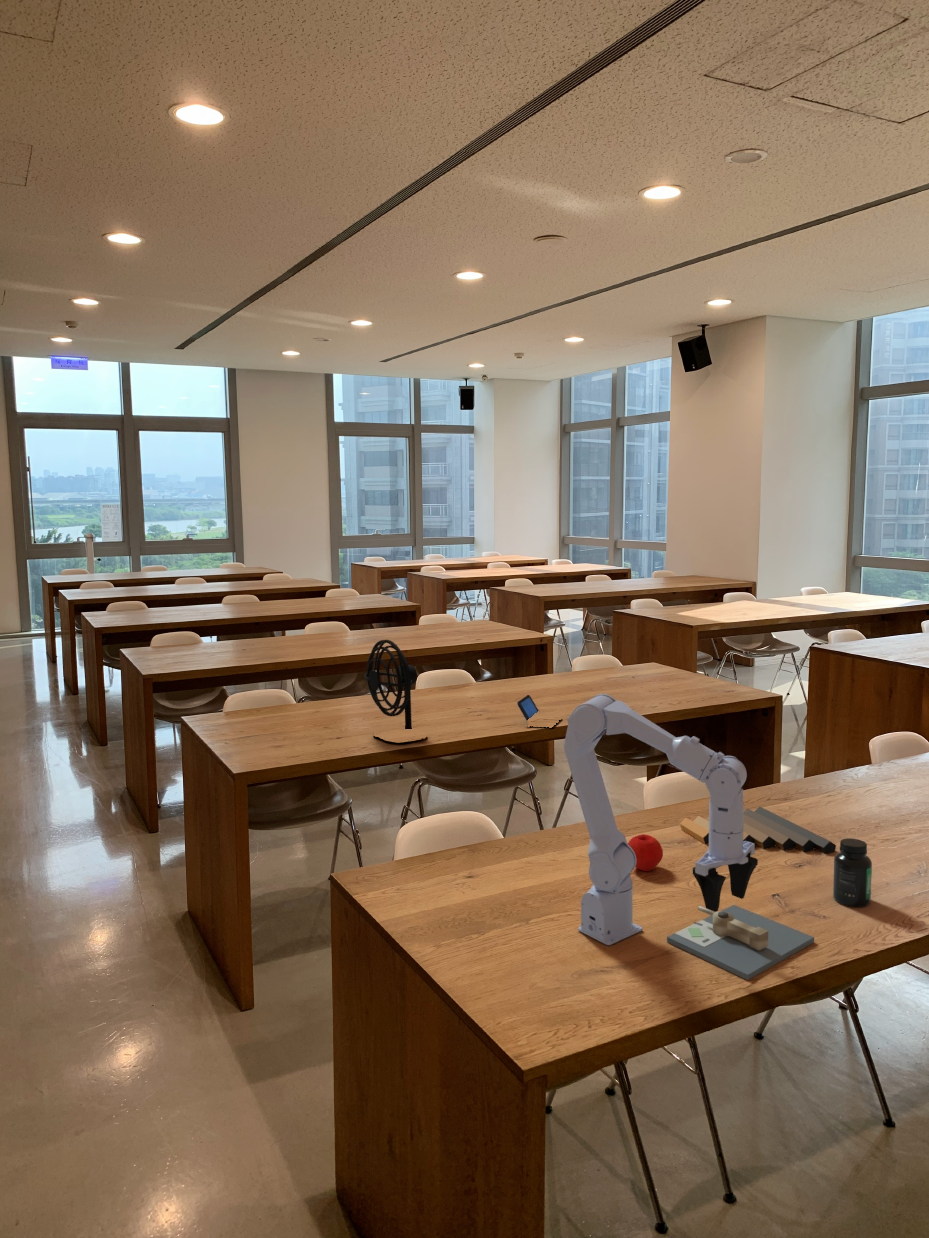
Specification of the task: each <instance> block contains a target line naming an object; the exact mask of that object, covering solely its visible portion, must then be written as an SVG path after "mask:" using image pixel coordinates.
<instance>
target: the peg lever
mask: <svg viewBox="0 0 929 1238" xmlns="http://www.w3.org/2000/svg"><path fill="white" fill-rule="evenodd" d="M697 911H700V912H702V913H705V914H706V915H709V916H713V932H714V933H715V934H717V935H720V936H730V937H733V938H735V939H737V940H739V941H742V942H744V943H746V944H748V945H749V946H750V947H752V948H755V949H757V950H759V951H760V950H761V949H763V948H765V947H767V946H768V930H765V929H763V928H760V927H757V928H755V927H753V926H750V925H748V924H745V923H743V922H741V921H738V920H736V919H733V915H732V914H730V913H728V912H722V910H720V911H719V910H718V911H717V912H714V911H711V910H709V909H706V907H703V906H702V905H699V906H698V907H697Z"/></svg>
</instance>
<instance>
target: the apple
mask: <svg viewBox="0 0 929 1238" xmlns="http://www.w3.org/2000/svg"><path fill="white" fill-rule="evenodd" d="M627 843H628V845H629V846H630V847H631V848H632V849H633V851H634V853H635V855H636V866H635V868H636V869H637V870H640V871H643V872H650V871H653V870H654V869H655V868H656V867H657V866H658V865H659V864H660V863H661V862H662V859H663V856H664V850H663V847H662V845H661V843H660V842H659V840H657V839H656V838H655V837H654V836H651V835H650V834H638V835H635V836H633V837H632V838H631V839H630V840H629V841H627Z"/></svg>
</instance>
